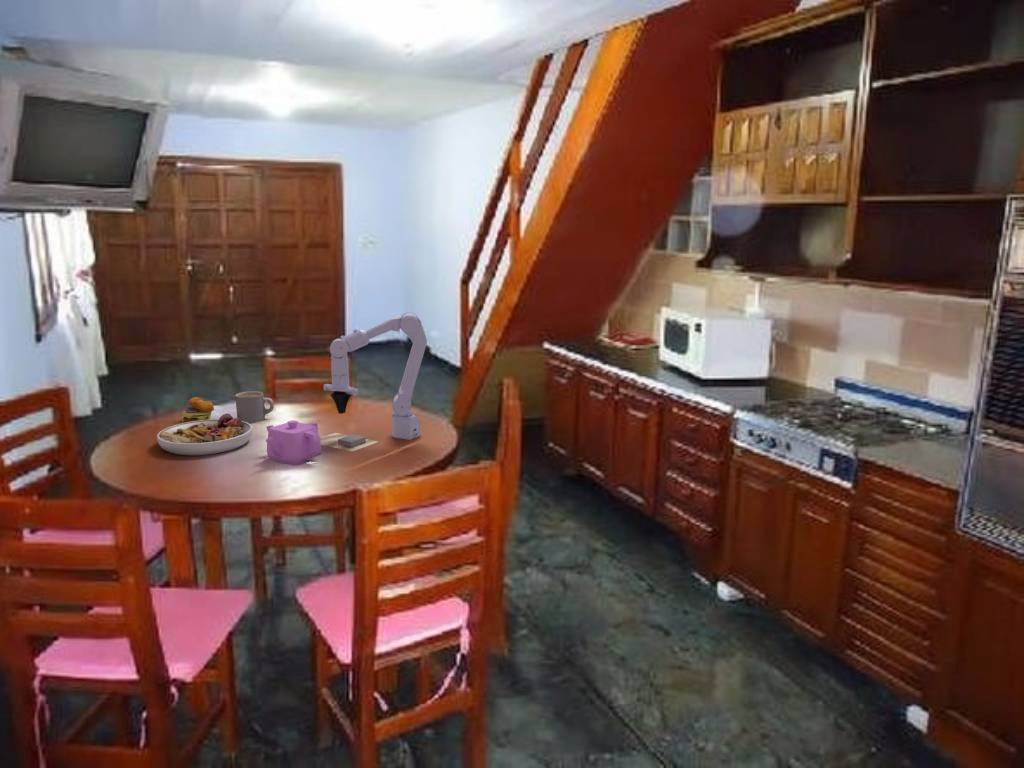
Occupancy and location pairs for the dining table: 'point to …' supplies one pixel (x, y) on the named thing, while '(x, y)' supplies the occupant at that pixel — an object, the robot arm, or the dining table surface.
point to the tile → (351, 440)
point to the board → (333, 442)
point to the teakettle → (293, 442)
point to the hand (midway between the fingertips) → (341, 412)
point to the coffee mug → (252, 406)
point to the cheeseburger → (197, 410)
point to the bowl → (205, 436)
